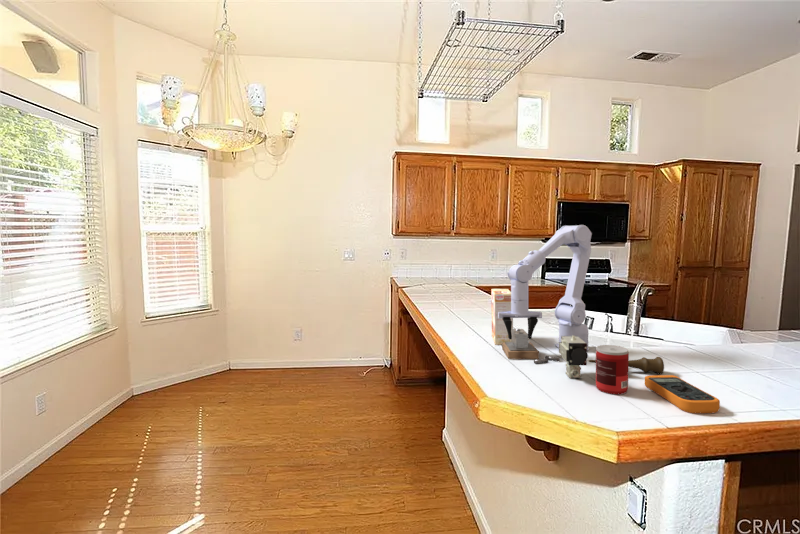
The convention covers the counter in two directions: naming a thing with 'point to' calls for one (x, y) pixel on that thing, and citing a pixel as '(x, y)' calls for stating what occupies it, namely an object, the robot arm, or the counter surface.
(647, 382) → the multimeter
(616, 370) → the canned food
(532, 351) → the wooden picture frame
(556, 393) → the counter surface
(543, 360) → the bolt
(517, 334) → the block
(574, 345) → the pneumatic valve
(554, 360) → the bolt
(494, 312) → the coffeecake box
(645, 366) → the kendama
